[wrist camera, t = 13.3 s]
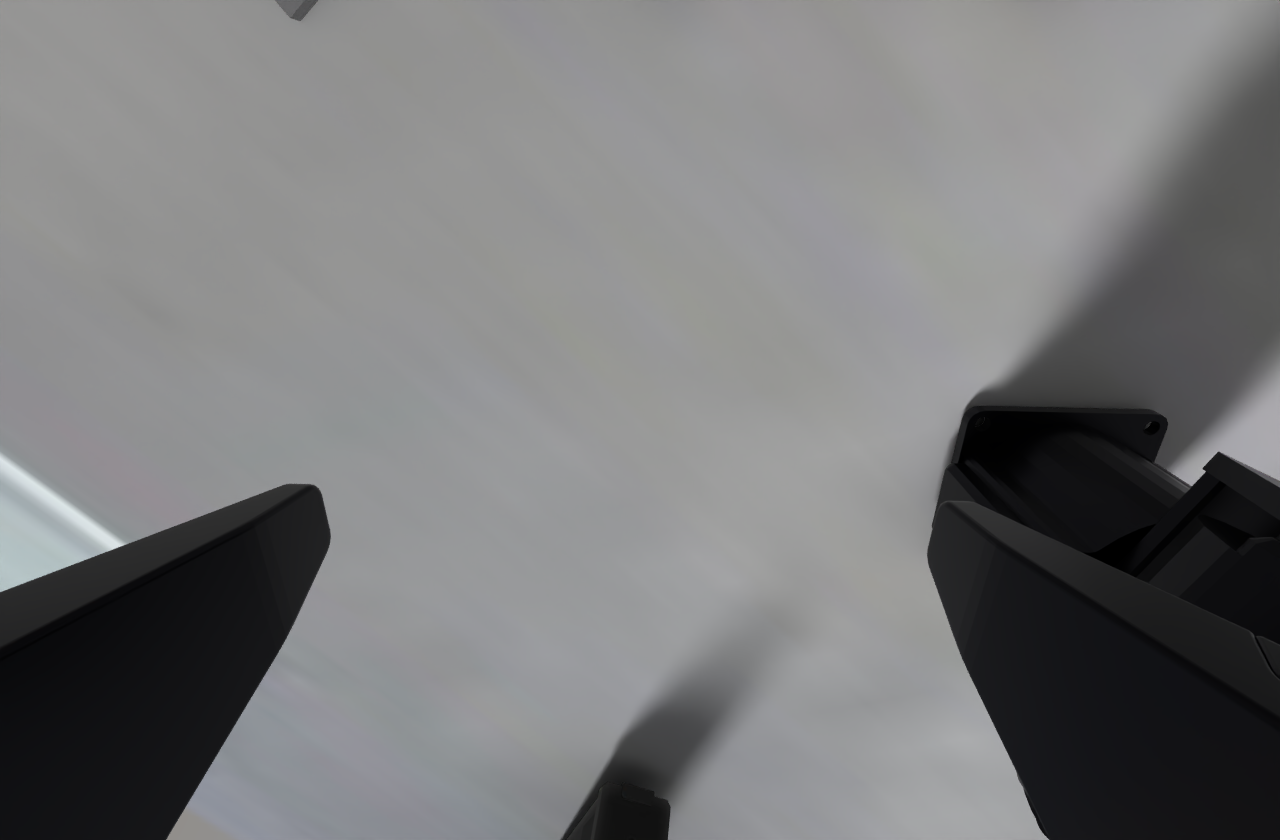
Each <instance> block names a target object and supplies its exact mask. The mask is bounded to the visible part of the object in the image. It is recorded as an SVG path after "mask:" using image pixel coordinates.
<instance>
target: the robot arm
mask: <svg viewBox="0 0 1280 840" xmlns="http://www.w3.org/2000/svg"><path fill="white" fill-rule="evenodd" d="M984 417H985V420H984V422H983V424H981V425H980V426H976V427H975V423H976V421H977V420H978V419H980V418H984ZM1149 422H1151V424H1150V426H1149V427H1148V428H1146V429H1144V427H1145V425H1146V424H1148V423H1149ZM1167 426H1168V422H1167V419H1166V418H1165V417H1164V416H1162V415H1161V414H1159V413H1157V412H1155V411H1153V410H1145V409H1099V408H1053V407H1007V406H977V407H973V408H971V409H969V410H968V411H967V412H966V413H965V414H964V416H963V418H962V422H961V426H960V430H959V434H958V438H957V442H956V446H955V451H954V455H953V459H952V463H951V464H950V465H949V466H948V467H947V468H946V470H945V473H944V477H943V481H942V486H941V490H940V494H939V498H938V502H937V506H936V511H935V515H934V519H933V523H932V533H931V537H930V542H929V546H928V552H927V557H928V564H929V568H930V570H931V573H932V576H933V579H934V582H935V585H936V587H937V590H938V593H939V596H940V599H941V602H942V604H943V607H944V610H945V613H946V616H947V619H948V621H949V624H950V627H951V630H952V633H953V635H954V638H955V641H956V644H957V646H958V649H959V652H960V654H961V657H962V659H963V661H964V663H965V666H966V668H967V670H968V672H969V674H970V676H971V679H972V681H973V683H974V685H975V687H976V689H977V691H978V693H979V695H980V697H981V699H982V701H983V703H984V705H985V707H986V709H987V712H988V714H989V716H990V718H991V720H992V722H993V724H994V726H995V728H996V730H997V732H998V734H999V736H1000V738H1001V740H1002V742H1003V745H1004V747H1005V749H1006V751H1007V753H1008V755H1009V757H1010V759H1011V761H1012V763H1013V765H1014V767H1015V769H1016V772H1017V776H1018V779H1019V781H1020V783H1021V785H1022V786H1023V788H1024V792H1025V795H1026V798H1027V800H1028V803H1029V805H1030V808H1031V810H1032V812H1033V814H1034V816H1035V818H1036V820H1037V824H1038V826H1039V828H1040V829H1041V831H1042V832H1043V834H1044V835H1045V836H1046V837H1047V838H1048V839H1049V840H1280V481H1279V480H1277V479H1274V478H1272V477H1270V476H1268V475H1266V474H1264V473H1262V472H1260V471H1258V470H1256V469H1254V468H1252V467H1250V466H1248V465H1246V464H1244V463H1241V462H1239V461H1237V460H1235V459H1233V458H1231V457H1229V456H1227V455H1225V454H1223V453H1221V452H1217V454H1216V455H1215V456H1214V457H1213V458H1212V459H1211V460H1210V461H1209V462H1208V463H1207V464H1206V465H1205V466H1204V467H1203V468H1202V469H1203V470H1205V471H1206V472H1205V473H1204V474H1203V475H1202V476H1201V478H1200V479H1199V480H1198V481H1197V482H1196V483H1195V484H1194V485H1193V486H1190V485H1189V484H1187V483H1186V482H1184V481H1182V480H1181V479H1179V478H1178V477H1176V476H1175V475H1173V474H1172V473H1170V472H1168V471H1167V470H1165V469H1164V468H1162V467H1161V466H1159V465H1158V464H1156V463H1154V461H1155V458H1156V456H1157V453H1158V451H1159V448H1160V446H1161V443H1162V440H1163V438H1164V435H1165V433H1166V430H1167ZM330 539H331V534H330V528H329V524H328V519H327V515H326V510H325V506H324V502H323V497H322V494H321V491H320V490H319V488H318V487H316V486H315V485H311V484H286V485H282V486H280V487H277V488H274V489H272V490H269V491H267V492H264V493H261V494H259V495H256V496H253V497H251V498H248V499H245V500H243V501H240V502H237V503H235V504H232V505H230V506H227V507H224V508H222V509H219V510H216V511H214V512H211V513H208V514H206V515H203V516H201V517H198V518H195V519H193V520H190V521H187V522H185V523H182V524H179V525H177V526H174V527H171V528H169V529H166V530H164V531H161V532H158V533H156V534H153V535H150V536H148V537H145V538H142V539H140V540H137V541H134V542H132V543H129V544H127V545H124V546H121V547H119V548H116V549H113V550H111V551H108V552H105V553H103V554H100V555H97V556H95V557H92V558H90V559H87V560H84V561H82V562H79V563H76V564H74V565H71V566H68V567H66V568H63V569H61V570H58V571H55V572H53V573H50V574H47V575H45V576H42V577H39V578H37V579H34V580H31V581H29V582H26V583H24V584H21V585H18V586H16V587H13V588H10V589H8V590H5V591H2V592H0V840H166V839H167V837H168V836H169V834H170V832H171V831H172V829H173V827H174V826H175V824H176V822H177V821H178V819H179V817H180V815H181V814H182V812H183V811H184V809H185V807H186V806H187V804H188V802H189V801H190V799H191V797H192V796H193V794H194V792H195V791H196V789H197V787H198V786H199V784H200V782H201V781H202V779H203V777H204V776H205V774H206V772H207V771H208V769H209V767H210V766H211V764H212V762H213V761H214V759H215V757H216V756H217V754H218V752H219V751H220V749H221V747H222V746H223V744H224V742H225V741H226V739H227V737H228V736H229V734H230V732H231V731H232V729H233V727H234V726H235V724H236V722H237V721H238V719H239V717H240V716H241V714H242V712H243V711H244V709H245V707H246V706H247V704H248V702H249V701H250V699H251V697H252V696H253V694H254V692H255V691H256V689H257V687H258V686H259V684H260V682H261V681H262V679H263V677H264V676H265V674H266V672H267V671H268V669H269V667H270V666H271V664H272V662H273V661H274V659H275V657H276V656H277V654H278V652H279V650H280V649H281V647H282V645H283V643H284V642H285V640H286V638H287V636H288V634H289V632H290V630H291V628H292V626H293V624H294V622H295V620H296V618H297V616H298V614H299V611H300V609H301V607H302V605H303V603H304V601H305V598H306V596H307V594H308V592H309V590H310V588H311V586H312V583H313V581H314V579H315V577H316V575H317V573H318V570H319V568H320V566H321V564H322V562H323V560H324V558H325V555H326V553H327V551H328V548H329V545H330Z"/></svg>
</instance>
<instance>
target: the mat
mask: <svg viewBox="0 0 1280 840" xmlns="http://www.w3.org/2000/svg"><path fill="white" fill-rule="evenodd" d="M275 1H276V2H277V3H278V4H279V6H280V7H281V8H282V9H283V10H284V11H285V12H286V13H287V15H288V16H289V17H290V18H292V19H295V20H298V21H301V20H302V19H303V17H304V16H305V15H306V14H307V13H308V11H309V10H310V9H311V8H312V6H313V5H314V4H315V3H316V2H317V0H275Z"/></svg>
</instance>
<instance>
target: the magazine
mask: <svg viewBox="0 0 1280 840" xmlns="http://www.w3.org/2000/svg"><path fill="white" fill-rule="evenodd" d="M670 808H671V807H670V805H669V803H668V800H665V799H661V798H658V797H655V796H654V792H653V791H649V790H646V789H643V788H640V787H637V786H633V785H630V784H627V783H624V782H623V783H622V784H621V785H616V784H613V783H610V782H607V783H606V784H605V785H603V786H602V787H601V788H600V789H599V794H598V798H597V799H596V801H595V802H594V803H593V805H592V806H591V807H590V809H589V810H588V811H587V813H586V814H585V815H584V817H583V818H582V820H581V821H580V822H579V824H578V825H577V826H576V828H575V829H574V830H573V832H572V833H571V834H570V836H569V837H568V838H567V840H668V830H669V819H670Z"/></svg>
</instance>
